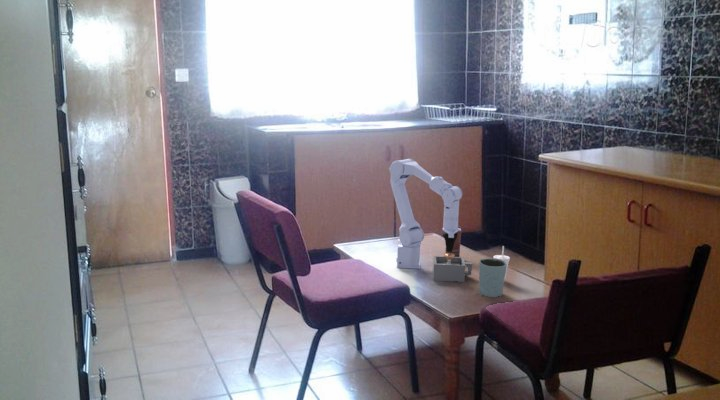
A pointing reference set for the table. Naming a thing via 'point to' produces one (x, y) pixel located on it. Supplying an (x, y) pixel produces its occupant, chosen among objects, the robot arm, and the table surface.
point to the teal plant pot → (491, 277)
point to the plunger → (449, 257)
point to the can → (456, 244)
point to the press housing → (450, 269)
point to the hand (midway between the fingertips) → (449, 251)
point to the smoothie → (503, 259)
